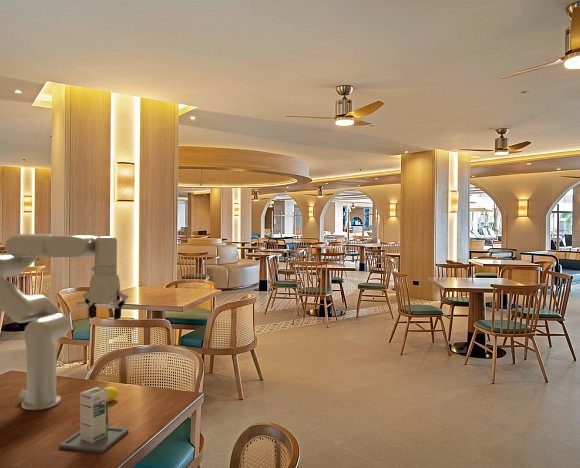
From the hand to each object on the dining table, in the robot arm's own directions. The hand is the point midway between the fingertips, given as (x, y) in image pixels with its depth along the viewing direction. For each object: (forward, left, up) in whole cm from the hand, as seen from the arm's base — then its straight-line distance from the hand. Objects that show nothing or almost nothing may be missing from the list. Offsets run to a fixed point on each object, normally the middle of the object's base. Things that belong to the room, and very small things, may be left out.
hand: (105, 318), depth 163 cm
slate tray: (+12, -23, -32) cm, 41 cm away
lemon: (-2, +6, -33) cm, 33 cm away
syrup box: (+12, -23, -32) cm, 41 cm away
